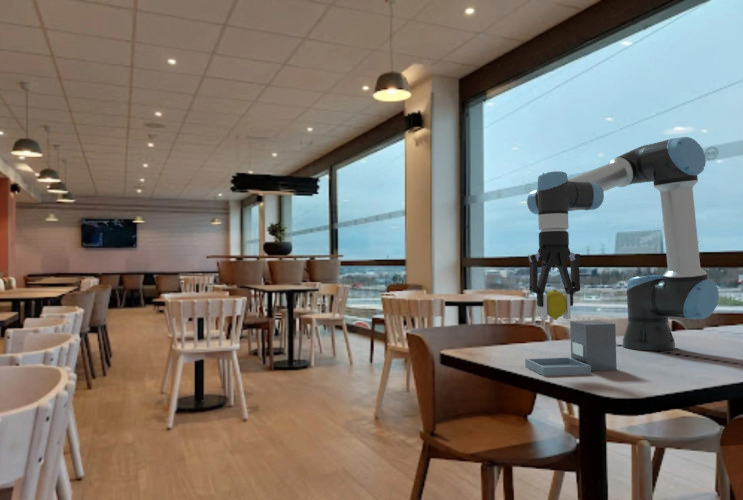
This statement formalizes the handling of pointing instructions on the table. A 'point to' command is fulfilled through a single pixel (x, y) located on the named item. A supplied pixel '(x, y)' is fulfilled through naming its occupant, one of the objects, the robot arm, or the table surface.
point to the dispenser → (594, 344)
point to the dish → (557, 366)
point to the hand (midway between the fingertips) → (555, 318)
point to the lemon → (555, 304)
